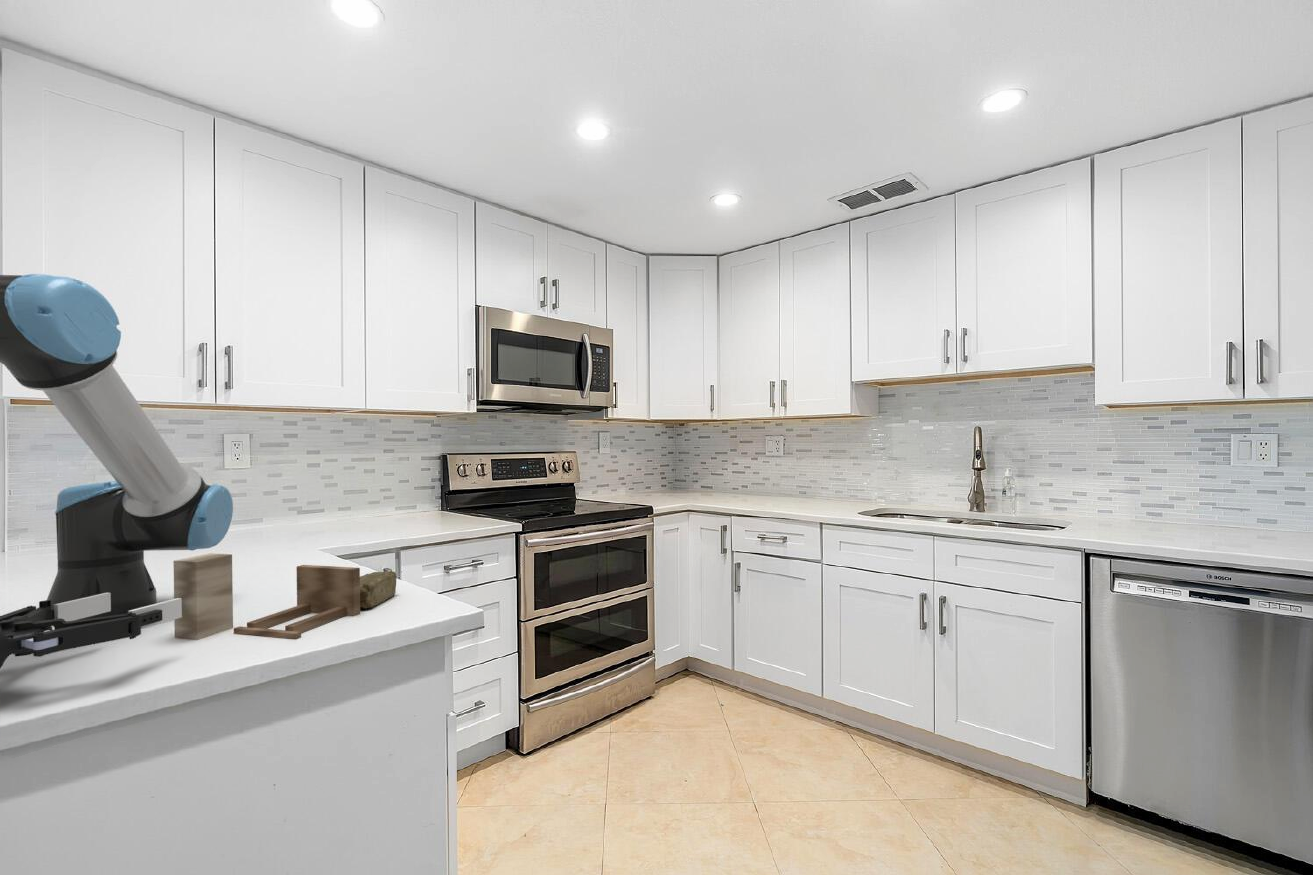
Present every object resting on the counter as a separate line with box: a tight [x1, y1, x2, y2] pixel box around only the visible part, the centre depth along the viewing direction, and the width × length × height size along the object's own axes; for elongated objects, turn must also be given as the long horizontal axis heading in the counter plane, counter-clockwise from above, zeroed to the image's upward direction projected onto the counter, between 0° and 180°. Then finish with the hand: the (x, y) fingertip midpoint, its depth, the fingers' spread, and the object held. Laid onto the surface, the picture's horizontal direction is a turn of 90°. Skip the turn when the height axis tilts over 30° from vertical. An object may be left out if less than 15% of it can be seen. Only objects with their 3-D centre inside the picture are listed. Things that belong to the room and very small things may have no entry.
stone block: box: [360, 570, 397, 609], centre depth 115 cm, size 6×12×5 cm, turn 178°
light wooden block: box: [173, 553, 234, 641], centre depth 98 cm, size 4×6×12 cm
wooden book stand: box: [233, 564, 361, 640], centre depth 103 cm, size 12×14×8 cm
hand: (143, 604), depth 89 cm, fingers open, 13 cm apart
